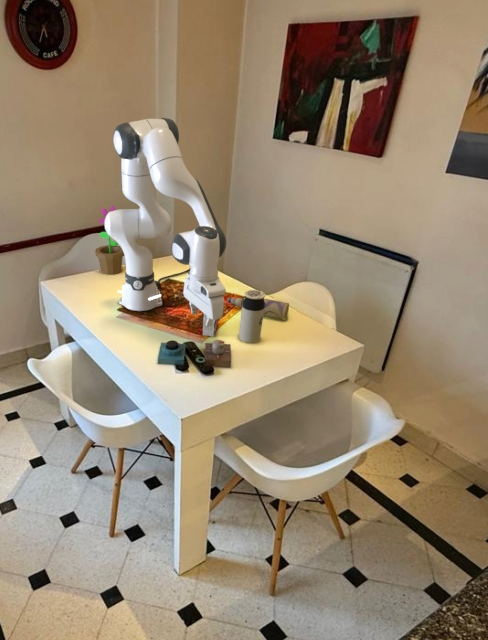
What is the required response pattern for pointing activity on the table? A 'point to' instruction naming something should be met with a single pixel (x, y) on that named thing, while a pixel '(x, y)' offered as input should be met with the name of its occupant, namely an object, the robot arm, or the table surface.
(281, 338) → the table surface
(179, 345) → the button box
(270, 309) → the decorative bottle
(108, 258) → the flowerpot
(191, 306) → the robot arm
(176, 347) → the button
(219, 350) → the dial knob
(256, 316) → the travel mug
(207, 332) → the candy bar box
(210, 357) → the dial panel
